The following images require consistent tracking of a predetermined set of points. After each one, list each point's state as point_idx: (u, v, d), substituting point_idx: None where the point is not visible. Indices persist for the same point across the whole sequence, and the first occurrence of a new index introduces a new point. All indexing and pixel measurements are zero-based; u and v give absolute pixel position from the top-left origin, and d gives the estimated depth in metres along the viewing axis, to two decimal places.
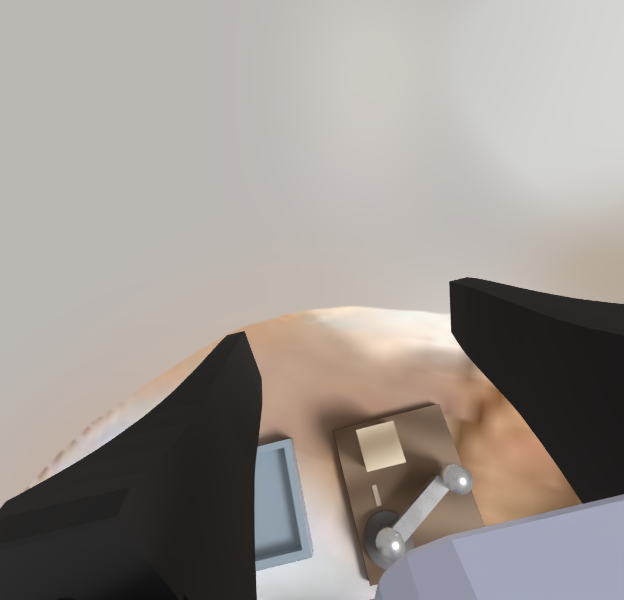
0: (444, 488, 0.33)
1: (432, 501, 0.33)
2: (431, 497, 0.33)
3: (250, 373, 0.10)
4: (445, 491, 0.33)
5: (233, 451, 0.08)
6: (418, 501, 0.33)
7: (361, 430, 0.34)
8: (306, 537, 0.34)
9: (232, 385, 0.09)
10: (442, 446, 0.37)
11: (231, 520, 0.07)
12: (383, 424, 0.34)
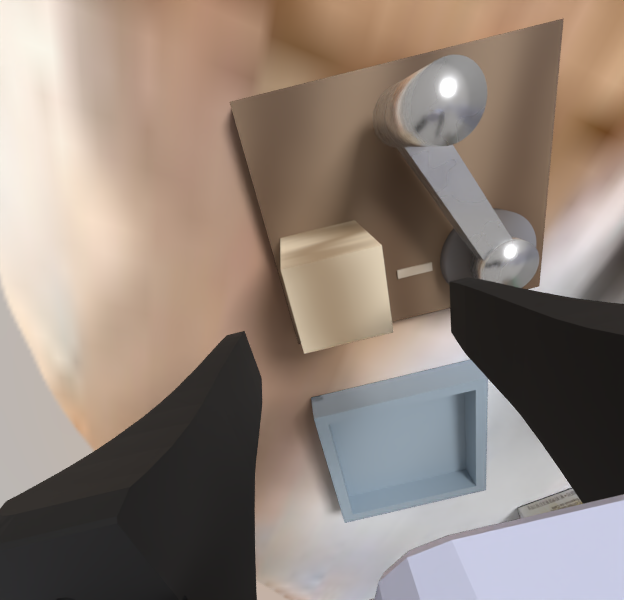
0: None
1: (454, 168, 0.14)
2: (446, 169, 0.14)
3: (250, 373, 0.10)
4: None
5: (233, 451, 0.08)
6: (448, 201, 0.15)
7: (305, 342, 0.14)
8: (461, 385, 0.21)
9: (232, 385, 0.09)
10: (333, 111, 0.15)
11: (231, 520, 0.07)
12: (290, 293, 0.13)
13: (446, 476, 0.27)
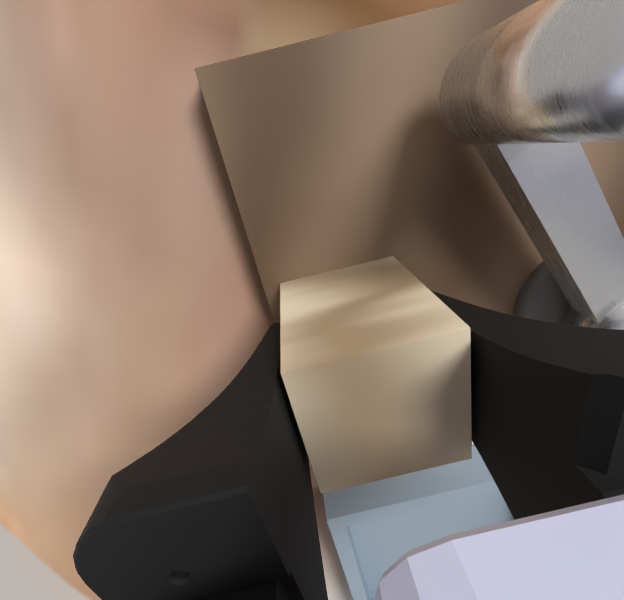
0: None
1: (575, 181, 0.08)
2: (562, 183, 0.08)
3: None
4: None
5: (295, 436, 0.08)
6: (558, 234, 0.09)
7: (323, 479, 0.08)
8: None
9: None
10: (367, 86, 0.09)
11: (303, 503, 0.07)
12: (299, 409, 0.07)
13: None
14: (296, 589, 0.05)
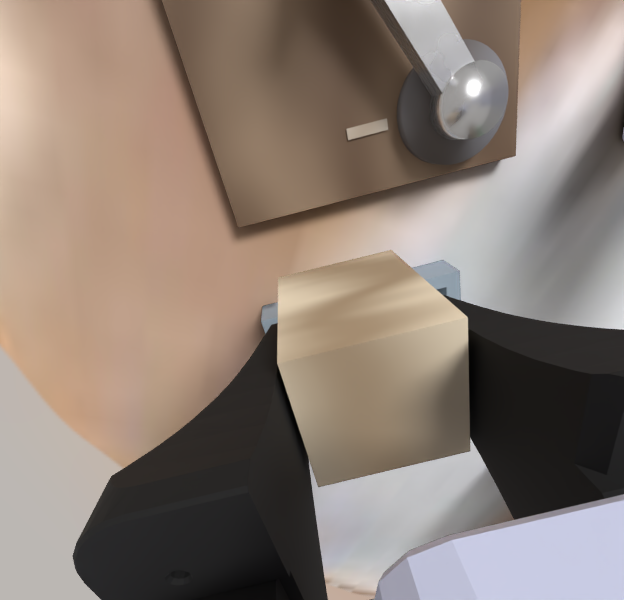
0: None
1: None
2: None
3: None
4: None
5: (295, 436, 0.08)
6: (393, 1, 0.12)
7: (320, 471, 0.08)
8: (429, 280, 0.18)
9: None
10: None
11: (303, 503, 0.07)
12: (296, 400, 0.07)
13: None
14: (296, 589, 0.05)
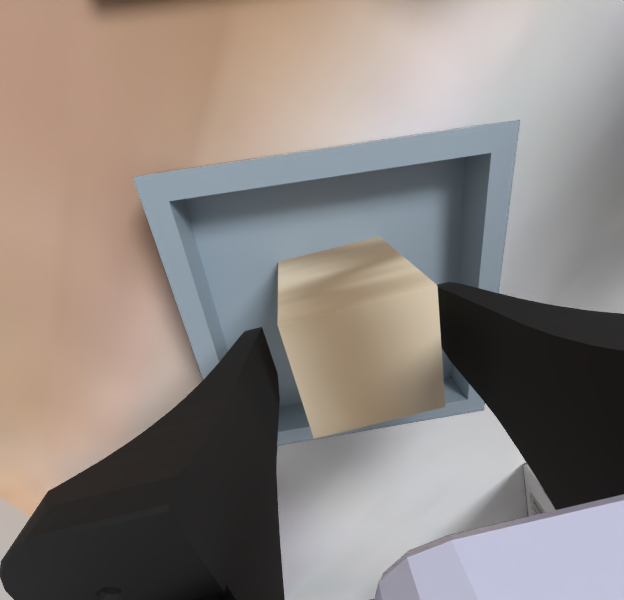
0: None
1: None
2: None
3: (268, 369, 0.10)
4: None
5: (258, 445, 0.08)
6: None
7: (315, 424, 0.09)
8: (462, 132, 0.10)
9: (254, 380, 0.09)
10: None
11: (259, 513, 0.07)
12: (293, 358, 0.08)
13: None
14: None
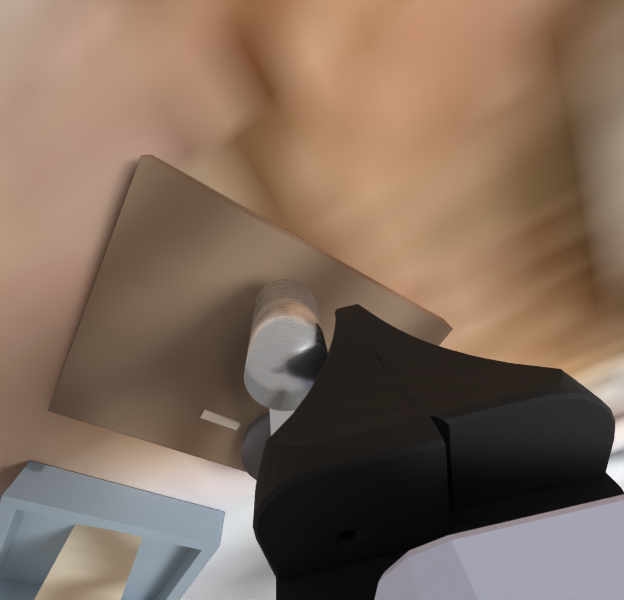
0: None
1: None
2: None
3: None
4: None
5: None
6: None
7: None
8: (190, 540, 0.19)
9: None
10: (240, 247, 0.13)
11: None
12: None
13: None
14: None
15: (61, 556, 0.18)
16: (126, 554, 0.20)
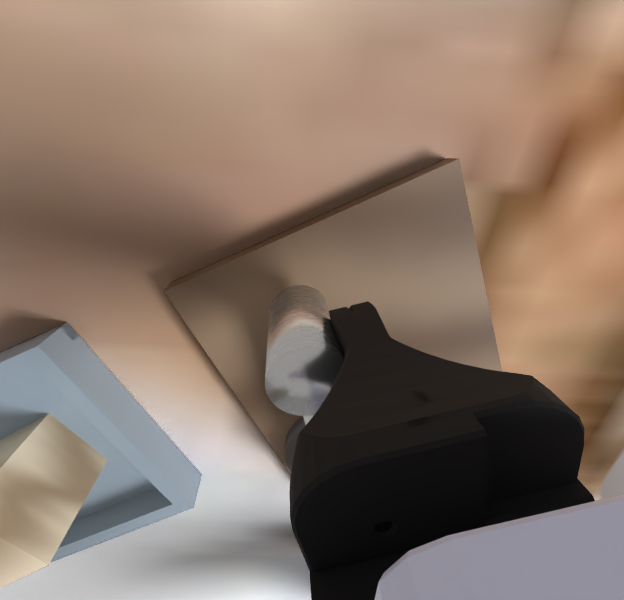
0: None
1: None
2: None
3: None
4: None
5: None
6: None
7: None
8: (173, 489, 0.17)
9: None
10: (450, 271, 0.14)
11: None
12: None
13: None
14: None
15: (27, 443, 0.15)
16: (88, 473, 0.16)
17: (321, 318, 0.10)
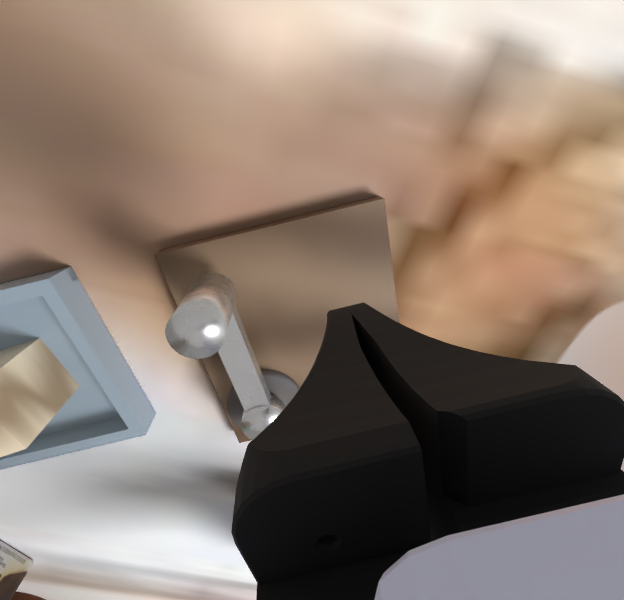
0: None
1: (237, 346, 0.18)
2: (231, 345, 0.18)
3: None
4: (232, 320, 0.17)
5: None
6: (228, 365, 0.19)
7: None
8: (132, 416, 0.21)
9: None
10: (371, 278, 0.20)
11: None
12: None
13: None
14: None
15: (21, 355, 0.18)
16: (63, 391, 0.20)
17: (212, 293, 0.15)
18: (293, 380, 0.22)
